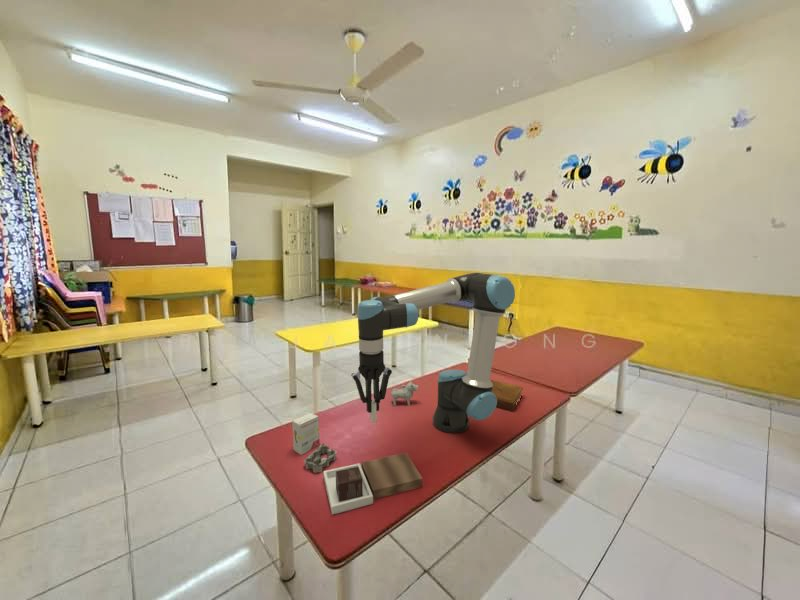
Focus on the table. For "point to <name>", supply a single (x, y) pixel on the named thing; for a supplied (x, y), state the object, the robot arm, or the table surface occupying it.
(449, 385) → the robot arm
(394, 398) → the dog figurine
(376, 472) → the wooden board
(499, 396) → the diary
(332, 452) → the grey lobed frame
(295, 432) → the ink box
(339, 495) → the box
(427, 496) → the table surface
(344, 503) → the bin
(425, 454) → the table surface
